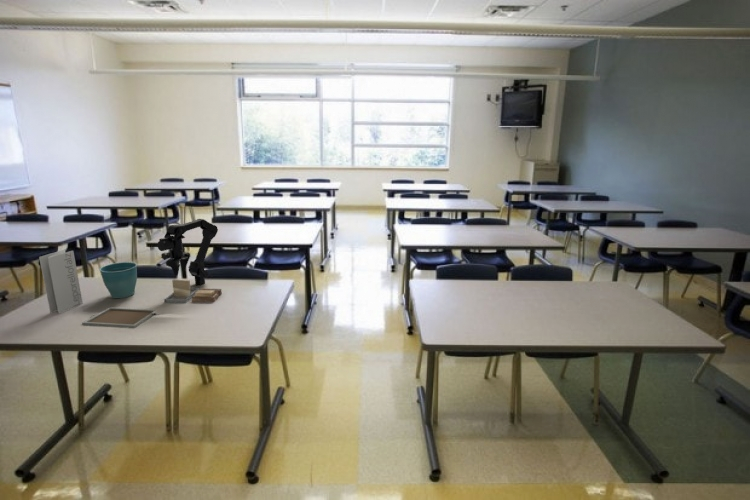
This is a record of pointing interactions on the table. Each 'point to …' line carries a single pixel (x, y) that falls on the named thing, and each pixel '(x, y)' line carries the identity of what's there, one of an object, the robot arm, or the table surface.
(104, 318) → the picture frame
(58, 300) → the brochure
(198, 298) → the walnut rack
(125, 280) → the flower pot
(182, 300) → the gray tray
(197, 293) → the upper oak offcut
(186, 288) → the birch sheet
